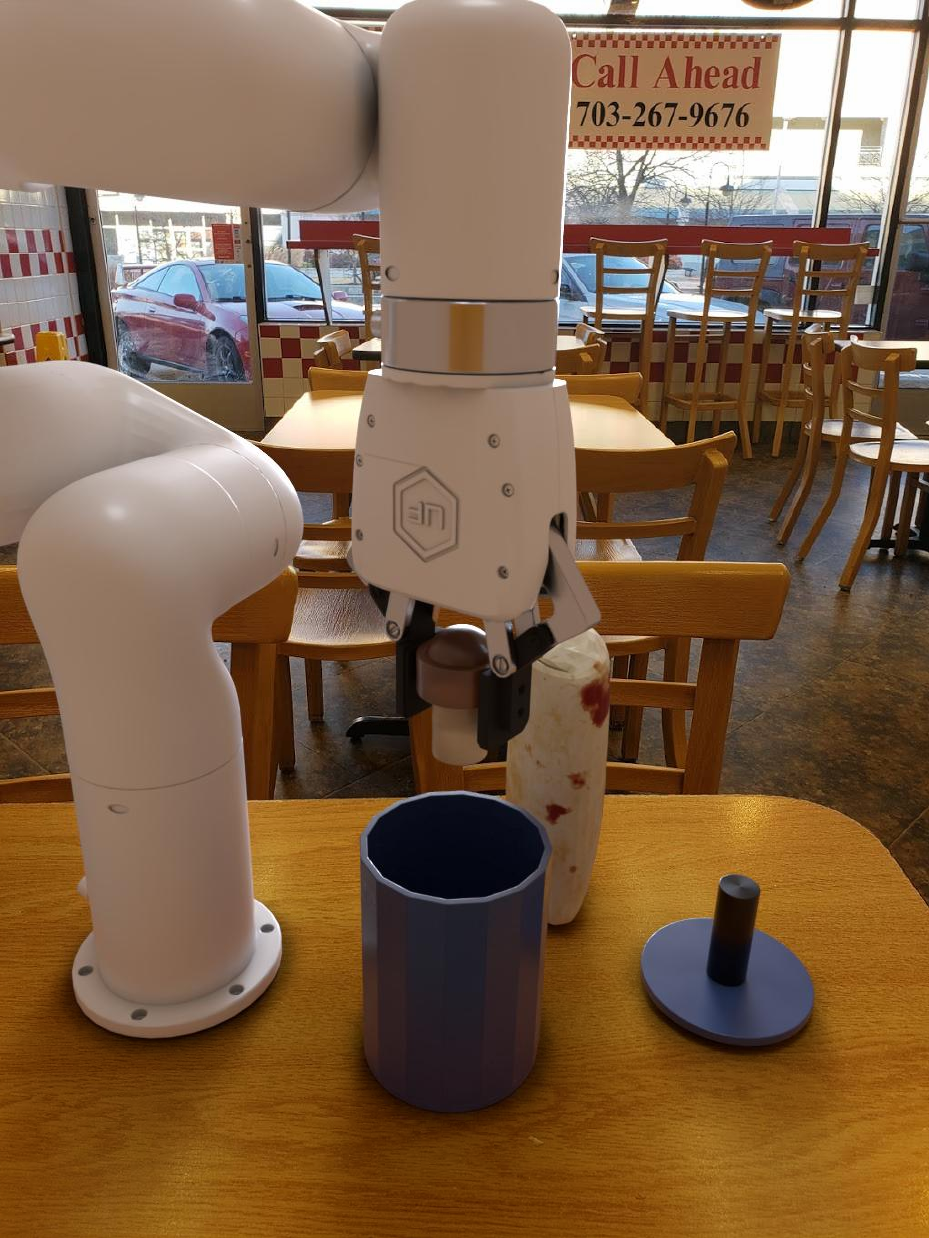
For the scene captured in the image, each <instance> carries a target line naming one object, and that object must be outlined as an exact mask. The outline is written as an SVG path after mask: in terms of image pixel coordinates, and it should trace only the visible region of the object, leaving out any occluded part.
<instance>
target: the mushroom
mask: <svg viewBox="0 0 929 1238" xmlns="http://www.w3.org/2000/svg"><path fill="white" fill-rule="evenodd" d="M490 668H491V667H490V662H489V656H488V649H487V643H486V637H485V631H483V629H481V628H479V627H477V626H474V625H471V624H467V623H466V624H464V623H461V624H460V623H458V624H453V625H449V626H446V627H445V628H444V629H443V630H441V631H440V632H438V633H437V634H436V635H435V636H434V637H433V639H431V640H428V641H426V642H424V643H422V644H421V645H420V646H419V647H418V649H417V651H416V691H417V693H418V695H419V696H420V697H421V698H422V699H423V700H425V701H427V702H428V703H431V704H432V707H431V716H432V717H431V753H432V755H433V757H434V758H435V759H436V760H437V761H439V762H440V763H444V764H446V765H451V766H459V767H460V766H462V767H463V766H471V765H474V764H477V763H480V762H482V761H483V760H484V759H485V758H486V757H487V755H488V751H486V750H484V749H481V748H480V747H479V744H478V743H477V722H478V688H479V677H480V675H481V673H482V672H484V671H486V670H488V669H490Z"/></svg>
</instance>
